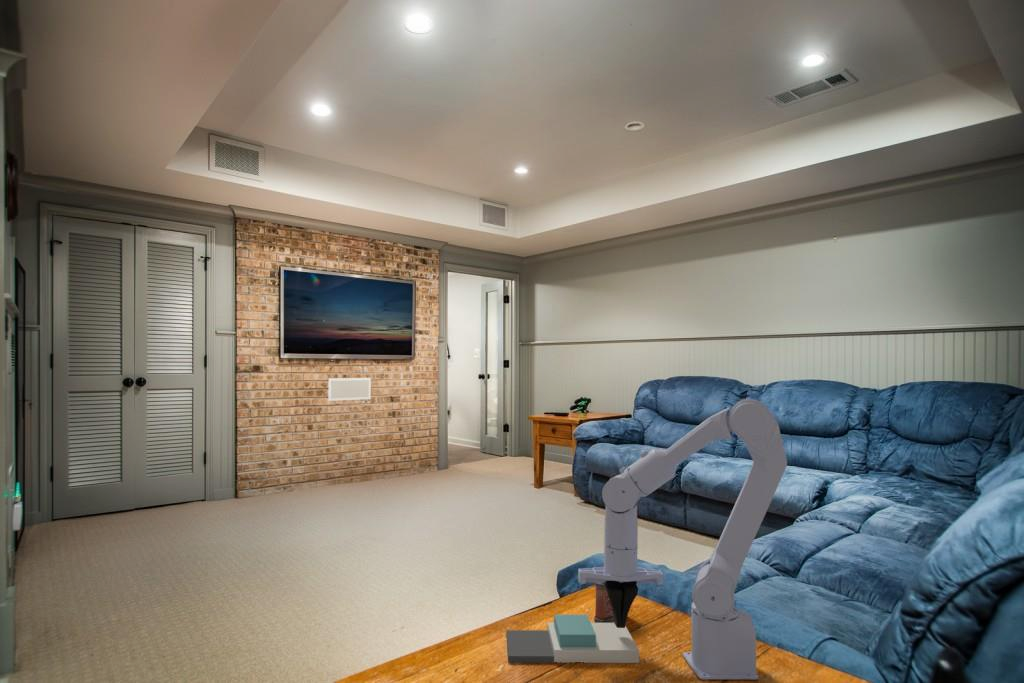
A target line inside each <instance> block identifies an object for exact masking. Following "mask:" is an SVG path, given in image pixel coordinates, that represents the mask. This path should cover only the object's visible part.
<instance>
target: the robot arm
mask: <svg viewBox="0 0 1024 683" xmlns="http://www.w3.org/2000/svg"><path fill="white" fill-rule="evenodd" d="M730 408H731V407H727V408H725V409H723V410H721V411H719V412H717V413H715V414H712V415H710V416H709V417H708V418H706V419H705V420H703V421H702V422H701V423H700V424H699V425H697V426H695V427H694V428H692V430H690V431H689V432H688V433H686V434H685V435H684V436H683V437H681V438H680V439H679V440H677V441H676V442H674V443H673V444H672V445H671V446H670V447H668V448H666V449H660V448H653V449H651V450H650V451H649V450H648V449H646V450H644V451H642V452H641V453H640V458H639V459H637V460H636V461H634V462H633V463H632V464H631V465H629V466H628V467H626V466H622V468H620V469H618V470H619V473H620V474H617V475H615V476H614V477H610V478H609V480H608V481H607V482H606V483H605V484H604V486H603V488H602V491H601V497H602V498H601V499H602V501H603V503H604V504H605V510H604V511H605V516H604V539H603V540H604V542H603V543H604V545H603V546H604V547H603V548H604V549H603V550H604V552H603V553H604V555H603V566H598V567H597V566H596V567H589V568H588V567H586V568H578V570H577V573H578V574H577V580H578V583H579V584H580V585H582V584H583V585H585V584H586V583H595V582H596V583H604V586H605V588H606V590H607V593H608V596H609V599H610V602H611V605H612V609H613V614H614V622H613V623H615V625H616V627H617V628H625V626H626V622H627V619H628V615H629V612H630V610H631V607H632V605H633V604H634V601H635V599H636V598H637V596H638V593H639V587H638V584H656V585H658V586H660V585H661V586H663V585H664V573H663V572H662V571H661V570H660V569H651V568H650V569H649V568H643V567H638V545H639V544H638V541H639V540H638V535H639V534H638V533H639V531H638V530H639V528H638V526H639V524H638V523H639V521H638V505H637V503H638V502H639V501H640V499H641V498H646V497H647V496H649V495H651V494H652V493H653V492H655V491H656V490H658V489H659V488H661V487H662V486H663V485H665V484H666V483H668V482H669V481H670V480H672V479H673V478H674V477H675V476H676V472H677V466H678V465H680V463H682V462H684V461H686V460H687V459H688V458H690V457H691V456H693V455H694V454H696V453H698V451H699V452H700V451H701V449H703V448H705V447H706V446H708V445H709V444H711V443H712V442H714V441H722V440H733V437H734V434H735V435H736V436H737V437H738V439H739V440H741V441H742V442H743V443H744V444H745V446H746V449H747V451H748V453H749V455H750V457H751V459H752V461H753V462H752V465H751V468H750V469H749V471H748V474H747V476H746V478H745V480H744V483H743V485H742V487H741V489H740V492H739V494H738V497H737V499H736V500H735V503H734V506H733V508H732V510H731V511H730V515H729V517H728V519H727V521H726V524H725V526H724V528H723V531H722V533H721V535H720V537H719V539H718V541H717V544H716V546H715V547H714V549H713V550H712V553H711V555H710V557H709V559H707V561H706V562H704V563H702V564H701V566H699V568H698V570H697V572H696V578H695V582H694V583H695V584H693V587H692V591H691V597H692V601H693V602H692V603H691V610H690V611H691V614H690V615H691V617H690V618H691V619H690V621H691V622H690V623H691V624H690V625H691V635H690V637H691V643H690V644H691V645H690V648H691V650H690V651H684V652H682V657H683V658H684V659H685V661H686V662H687V664H688V665H689V667H690V668H691V669H692V670H693V672H694V674H695V675H696V676H697V678H698V679H699V680H758V679H759V675H758V674H757V633H756V628H755V624H754V621H753V619H752V617H751V615H750V613H748V612H747V611H746V610H738V608H737V607H736V605H735V588H736V586H737V584H738V581H739V578H740V575H741V571H742V568H743V565H744V563H745V560H746V558H747V556H748V554H749V553H750V552H749V551H750V550H751V547H752V544H753V542H754V540H755V539H756V538H755V537H756V536H757V533H758V531H759V530H760V526H761V524H762V522H763V520H764V518H765V516H766V514H767V511H768V509H769V506H770V505H771V502H772V500H773V498H774V495H775V493H776V491H777V489H778V487H779V484H780V482H781V481H782V477H783V475H784V473H785V471H786V469H787V465H788V459H787V455H786V451H785V447H784V441H783V439H782V436H781V435H782V434H781V431H780V430H781V429H780V425H779V423H778V421H777V419H776V418H775V417H774V415H773V414H772V412H771V411H770V409H769V407H767V406H766V405H765V404H764V402H761V401H760V400H757V399H755V398H754V399H753V398H744V399H741V400H738V402H736V403H735V404H734V405H733V406H732V408H731V410H730ZM729 411H730V412H729Z"/></svg>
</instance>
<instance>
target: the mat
mask: <svg viewBox="0 0 1024 683" xmlns="http://www.w3.org/2000/svg"><path fill="white" fill-rule="evenodd" d="M505 632H506V633H505V634H506V639H507V640H506V650H507V652H506V653H507V663H531V664H532V663H533V664H534V663H537V664H539V663H543V664H544V663H548V662H549V663H550V662H553V663H554V653H553V649H552V645H551V641H550V637H549V633H548V630H547V629H546V630H544V629H543V630H532V629H531V630H530V629H529V630H528V629H527V630H526V629H523V630H522V629H520V630H519V629H518V630H517V629H506V631H505ZM549 663H548V664H549ZM553 663H552V664H553Z"/></svg>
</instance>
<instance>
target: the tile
mask: <svg viewBox="0 0 1024 683" xmlns="http://www.w3.org/2000/svg"><path fill="white" fill-rule="evenodd" d="M553 622H554V628H555V632H556V635H557V639H558V643H559V647H596V634H595V632H594V629H593V627H592V625H591V623H592V622H591V619H590V618H589V616H588V614H553Z"/></svg>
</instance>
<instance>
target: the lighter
mask: <svg viewBox="0 0 1024 683" xmlns="http://www.w3.org/2000/svg"><path fill="white" fill-rule="evenodd" d="M594 586H595V615H594V618H593V619H594V620H593V621H595V622H594V623H614V614H613V609H612V605H611V602H610V599H609V596H608V593H607V590H606V588H605V586H604V583H596V582H594Z"/></svg>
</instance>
